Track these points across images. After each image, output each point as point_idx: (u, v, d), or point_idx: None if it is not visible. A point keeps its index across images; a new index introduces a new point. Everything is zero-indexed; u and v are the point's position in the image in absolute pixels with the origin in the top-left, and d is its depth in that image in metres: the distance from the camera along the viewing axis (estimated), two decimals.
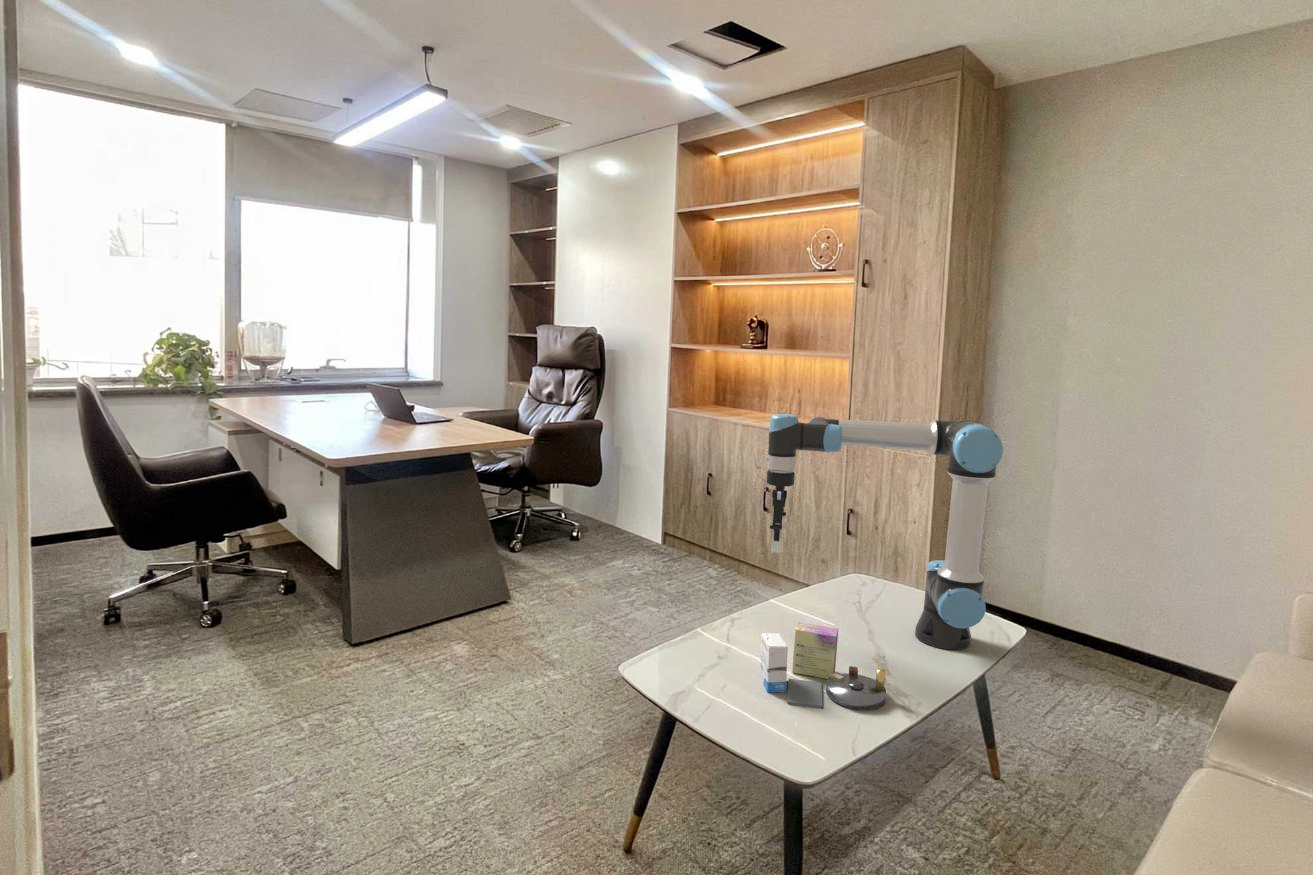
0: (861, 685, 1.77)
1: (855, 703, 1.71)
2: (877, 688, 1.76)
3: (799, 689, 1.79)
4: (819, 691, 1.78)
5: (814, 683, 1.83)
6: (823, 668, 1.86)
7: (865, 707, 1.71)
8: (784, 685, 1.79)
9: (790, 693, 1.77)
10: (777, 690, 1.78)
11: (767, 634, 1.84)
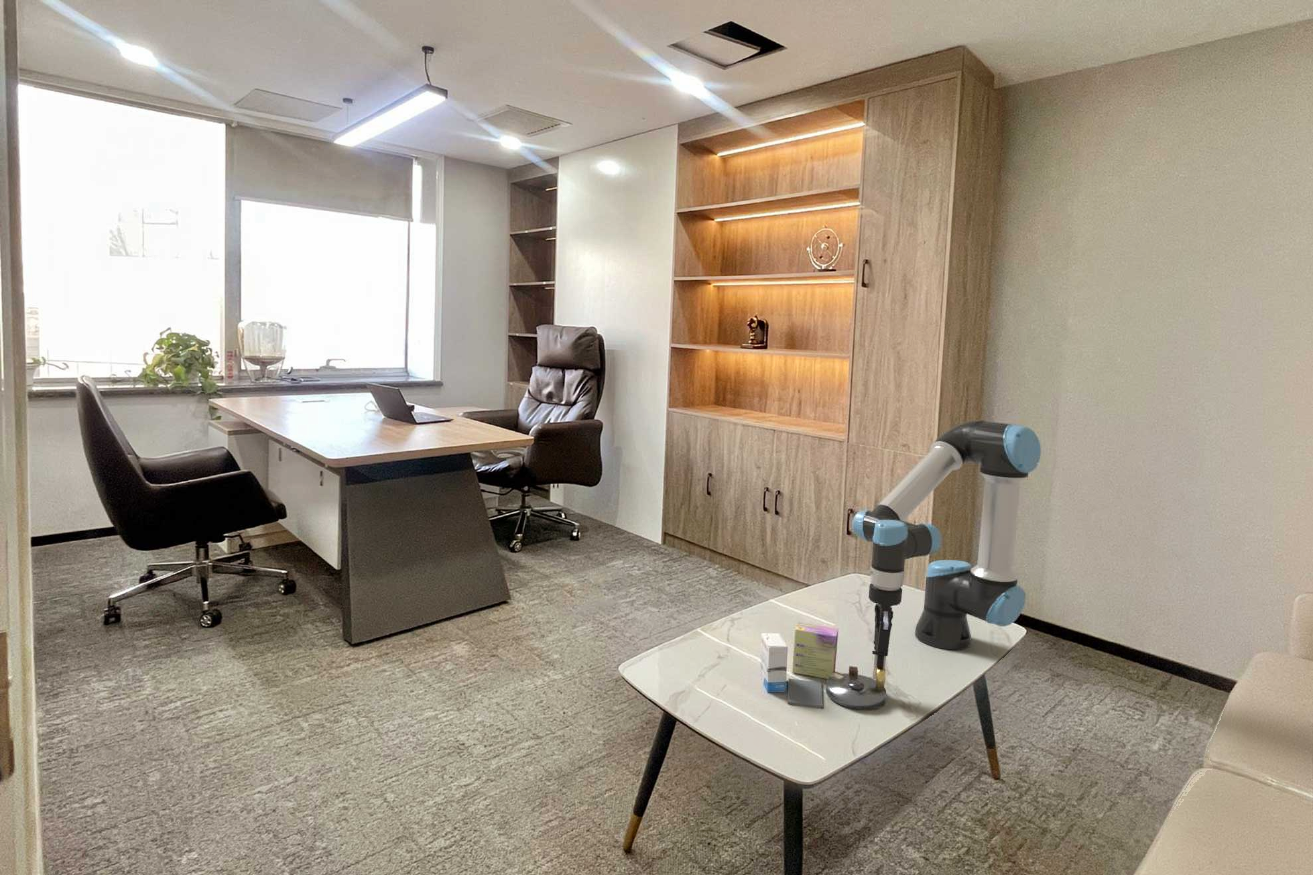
0: (861, 685, 1.77)
1: (855, 703, 1.71)
2: (877, 688, 1.76)
3: (799, 689, 1.79)
4: (819, 691, 1.78)
5: (814, 683, 1.83)
6: (823, 668, 1.86)
7: (865, 707, 1.71)
8: (784, 685, 1.79)
9: (790, 693, 1.77)
10: (777, 690, 1.78)
11: (767, 634, 1.84)
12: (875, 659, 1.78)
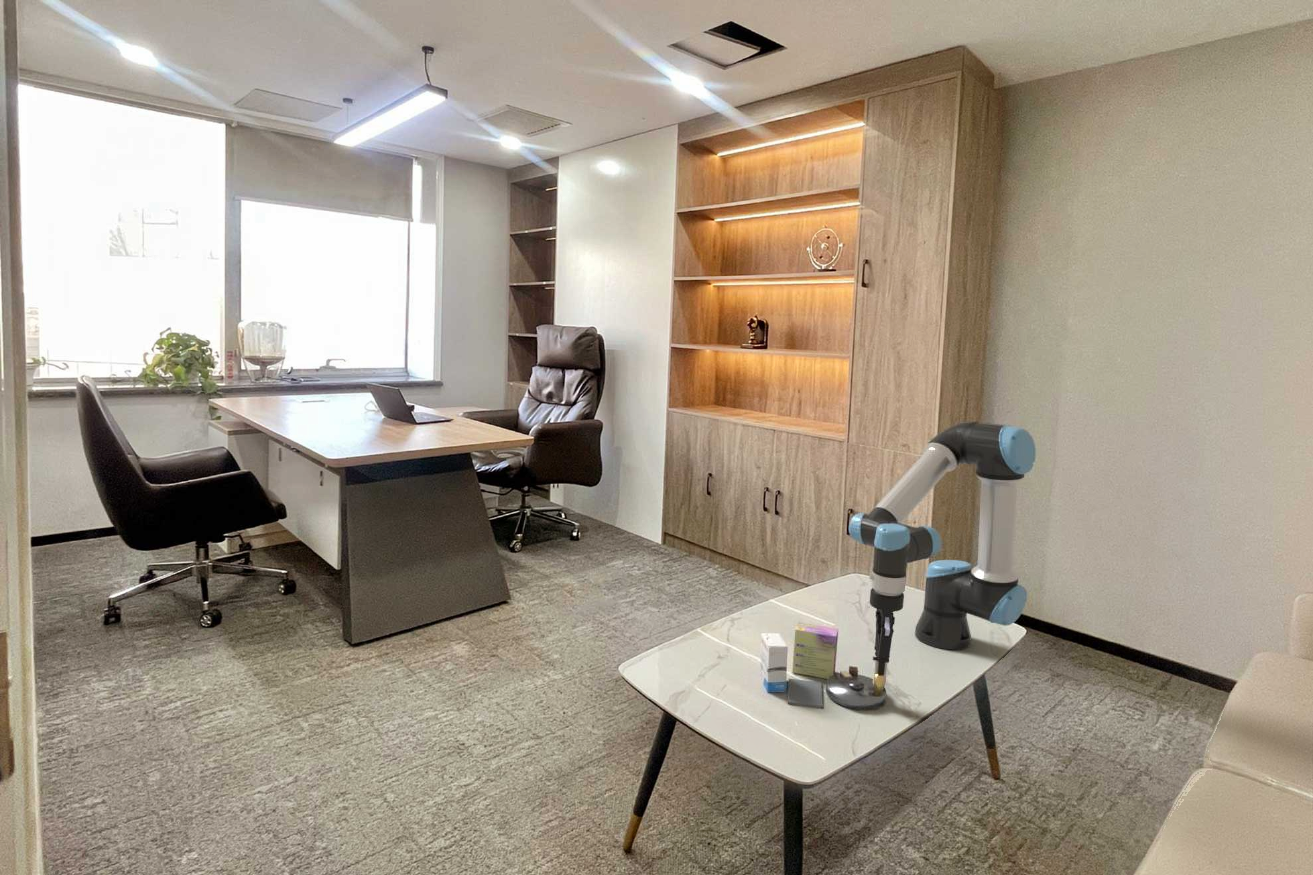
0: (859, 686, 1.76)
1: (841, 699, 1.73)
2: (874, 692, 1.74)
3: (799, 689, 1.79)
4: (819, 691, 1.78)
5: (814, 683, 1.83)
6: (823, 668, 1.86)
7: (850, 705, 1.72)
8: (784, 685, 1.79)
9: (790, 693, 1.77)
10: (777, 690, 1.78)
11: (767, 634, 1.84)
12: (876, 665, 1.74)
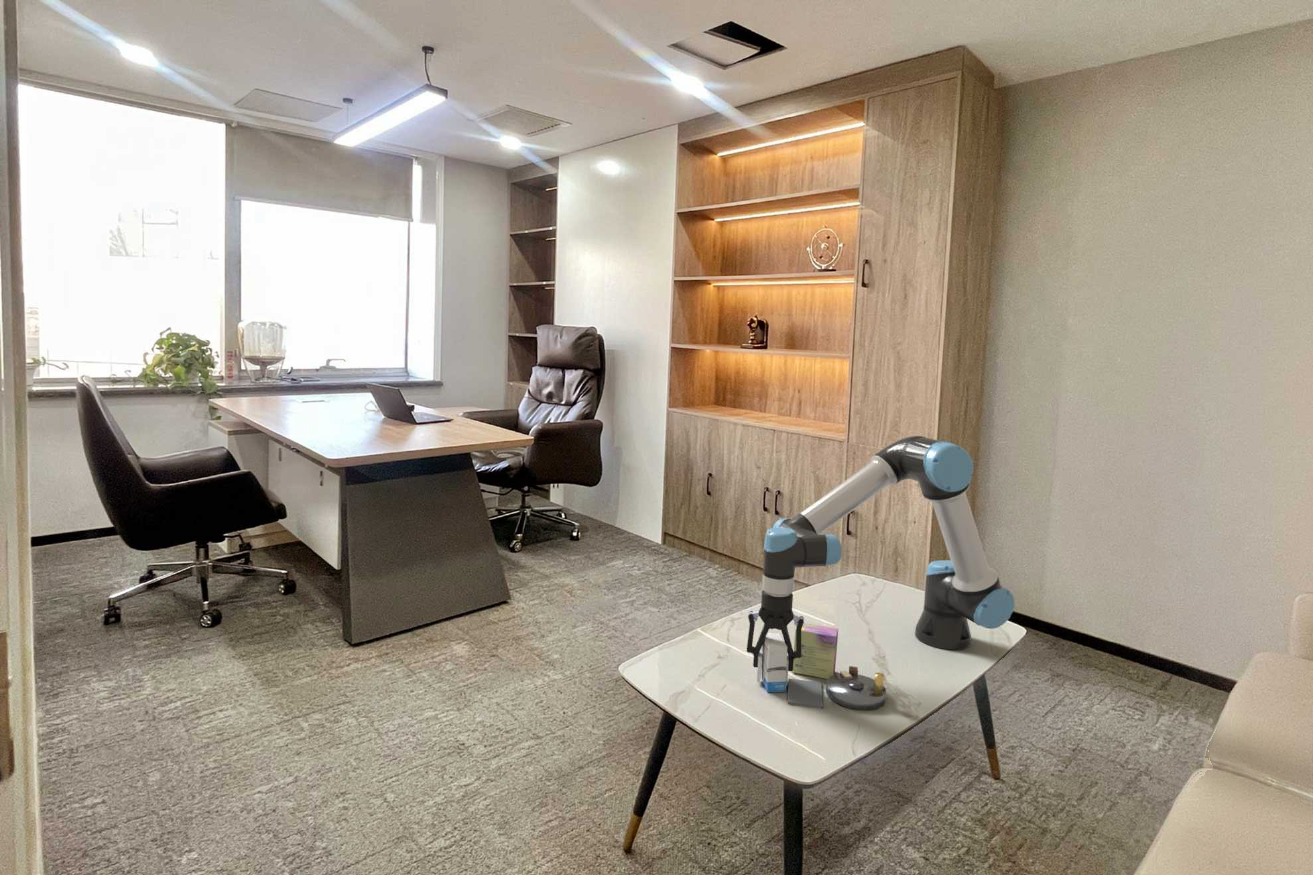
0: (859, 686, 1.76)
1: (841, 699, 1.73)
2: (874, 692, 1.74)
3: (799, 689, 1.79)
4: (819, 691, 1.78)
5: (814, 683, 1.83)
6: (823, 668, 1.86)
7: (850, 705, 1.72)
8: (784, 685, 1.79)
9: (790, 693, 1.77)
10: (777, 690, 1.78)
11: (767, 634, 1.84)
12: None
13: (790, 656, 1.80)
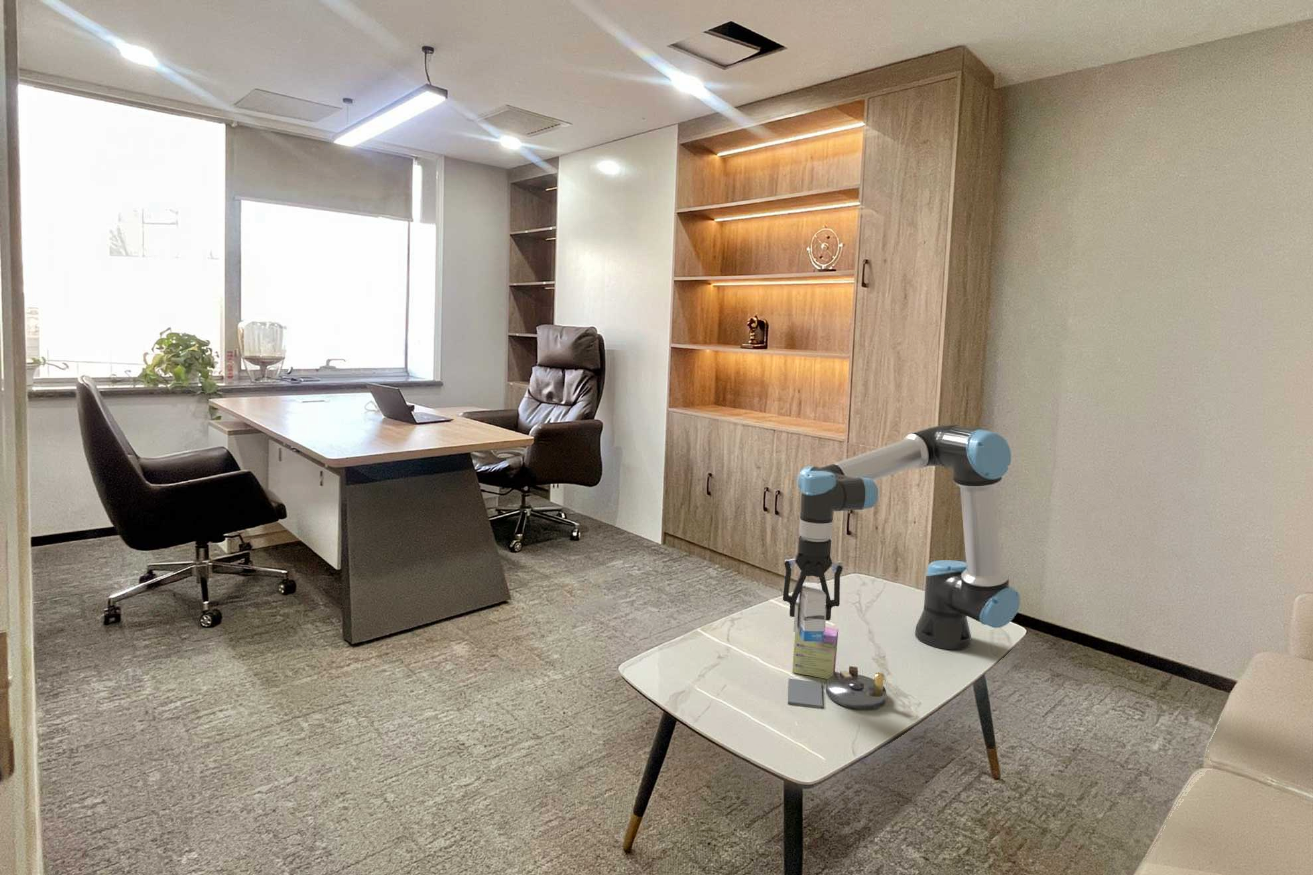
0: (859, 686, 1.76)
1: (841, 699, 1.73)
2: (874, 692, 1.74)
3: (799, 689, 1.79)
4: (819, 691, 1.78)
5: (814, 683, 1.83)
6: (823, 668, 1.86)
7: (850, 705, 1.72)
8: (821, 635, 1.72)
9: (790, 693, 1.77)
10: (814, 640, 1.72)
11: (804, 583, 1.78)
12: None
13: (828, 604, 1.73)
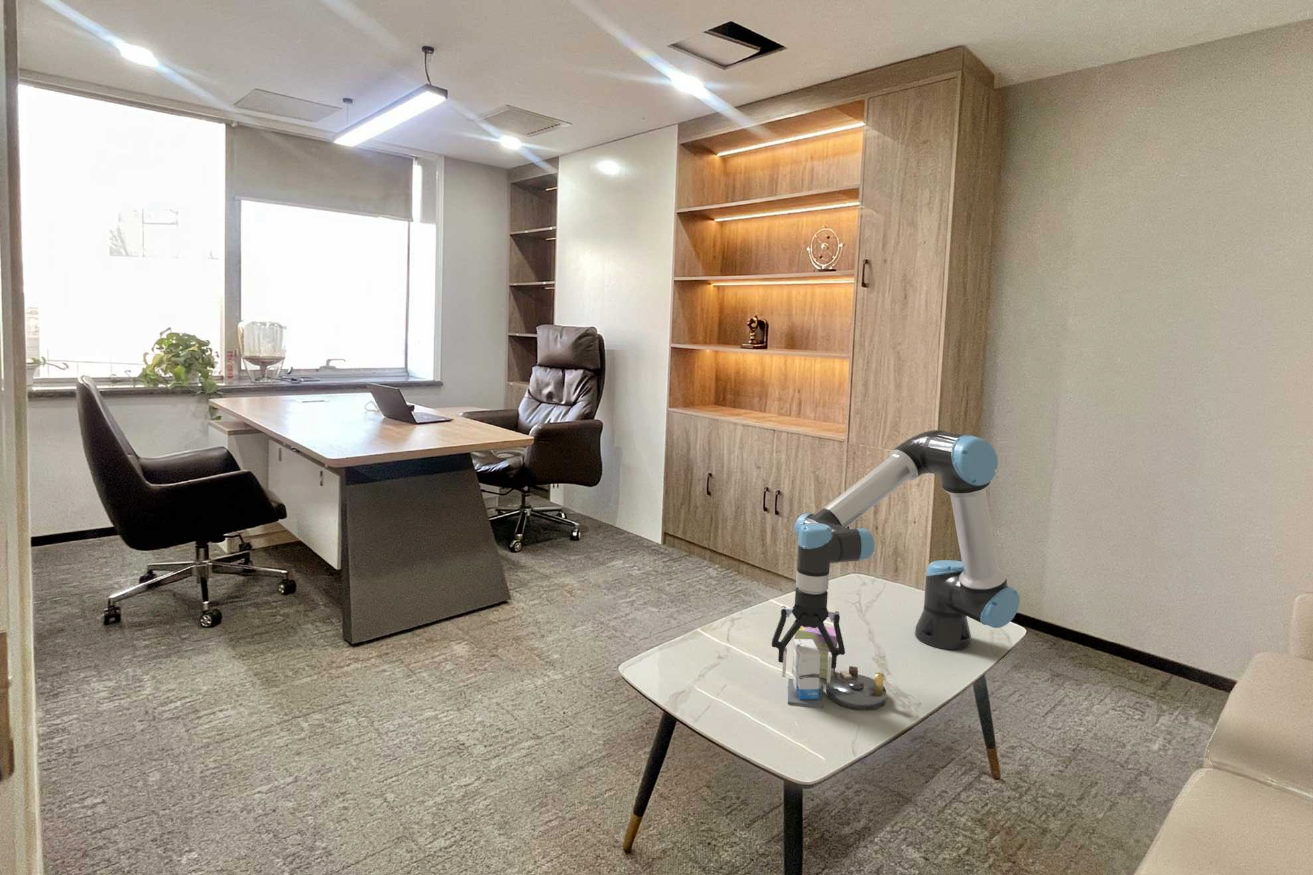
0: (859, 686, 1.76)
1: (841, 699, 1.73)
2: (874, 692, 1.74)
3: None
4: (819, 691, 1.78)
5: None
6: (823, 668, 1.86)
7: (850, 705, 1.72)
8: (817, 693, 1.74)
9: (790, 693, 1.77)
10: (809, 697, 1.74)
11: (800, 640, 1.80)
12: None
13: (833, 653, 1.74)
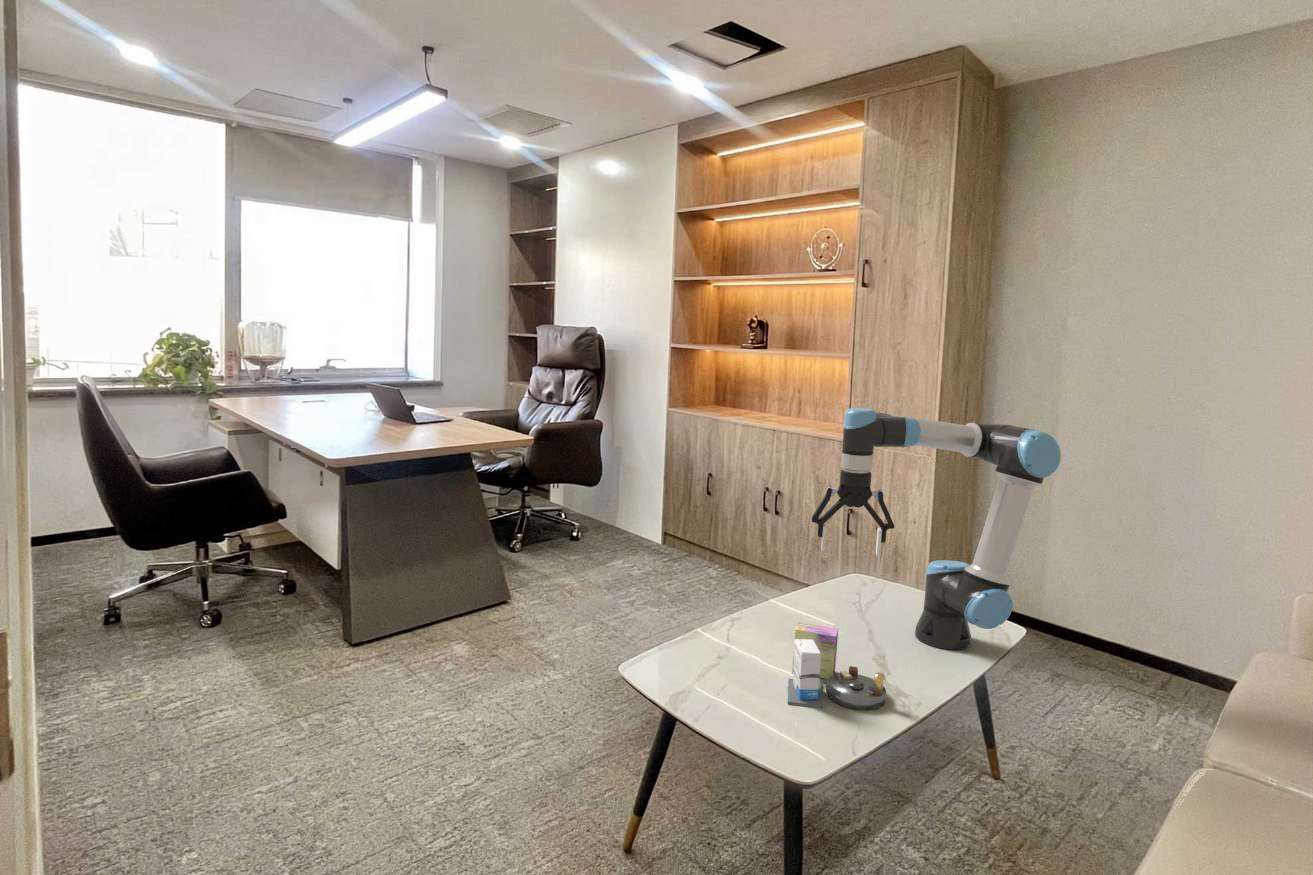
0: (859, 686, 1.76)
1: (841, 699, 1.73)
2: (874, 692, 1.74)
3: None
4: (819, 691, 1.78)
5: None
6: (823, 668, 1.86)
7: (850, 705, 1.72)
8: (817, 693, 1.74)
9: (790, 693, 1.77)
10: (809, 698, 1.74)
11: (800, 640, 1.80)
12: None
13: (883, 527, 1.84)
